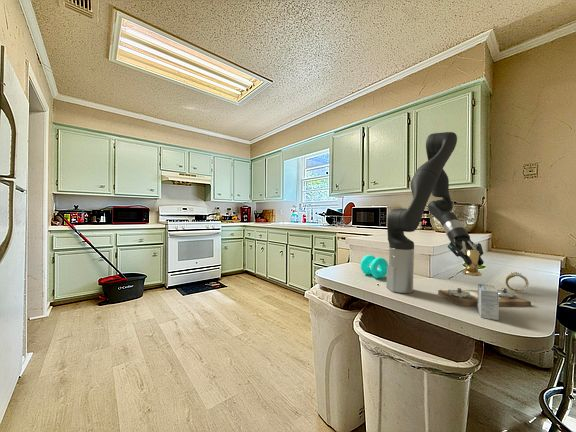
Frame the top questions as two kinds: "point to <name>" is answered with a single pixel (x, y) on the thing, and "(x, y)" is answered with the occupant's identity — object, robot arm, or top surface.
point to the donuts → (374, 266)
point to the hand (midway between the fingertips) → (475, 264)
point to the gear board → (474, 299)
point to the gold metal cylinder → (473, 267)
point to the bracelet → (514, 276)
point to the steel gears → (462, 294)
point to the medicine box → (488, 302)
